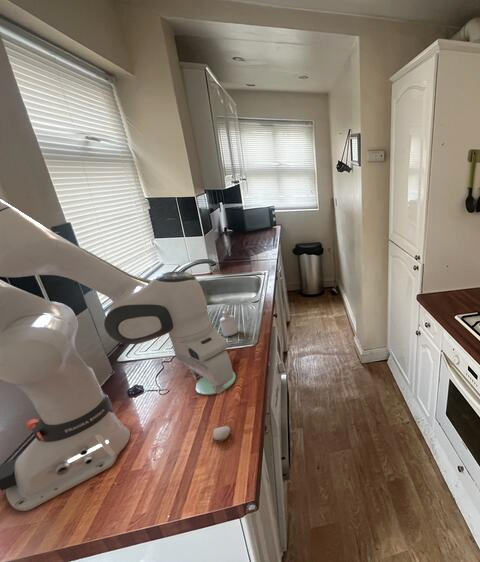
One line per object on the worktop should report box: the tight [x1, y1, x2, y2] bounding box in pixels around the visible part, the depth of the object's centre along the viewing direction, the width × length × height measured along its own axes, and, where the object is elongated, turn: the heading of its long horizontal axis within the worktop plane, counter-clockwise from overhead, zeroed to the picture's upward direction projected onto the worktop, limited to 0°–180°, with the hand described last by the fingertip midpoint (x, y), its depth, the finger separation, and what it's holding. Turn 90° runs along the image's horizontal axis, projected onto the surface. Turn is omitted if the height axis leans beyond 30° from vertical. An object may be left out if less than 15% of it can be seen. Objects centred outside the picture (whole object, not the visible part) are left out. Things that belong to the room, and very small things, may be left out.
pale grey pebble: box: [212, 425, 232, 443], centre depth 81 cm, size 4×5×2 cm
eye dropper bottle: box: [219, 307, 238, 337], centre depth 128 cm, size 4×6×12 cm
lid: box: [195, 371, 237, 396], centre depth 100 cm, size 12×12×5 cm
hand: (208, 384), depth 77 cm, fingers open, 8 cm apart
